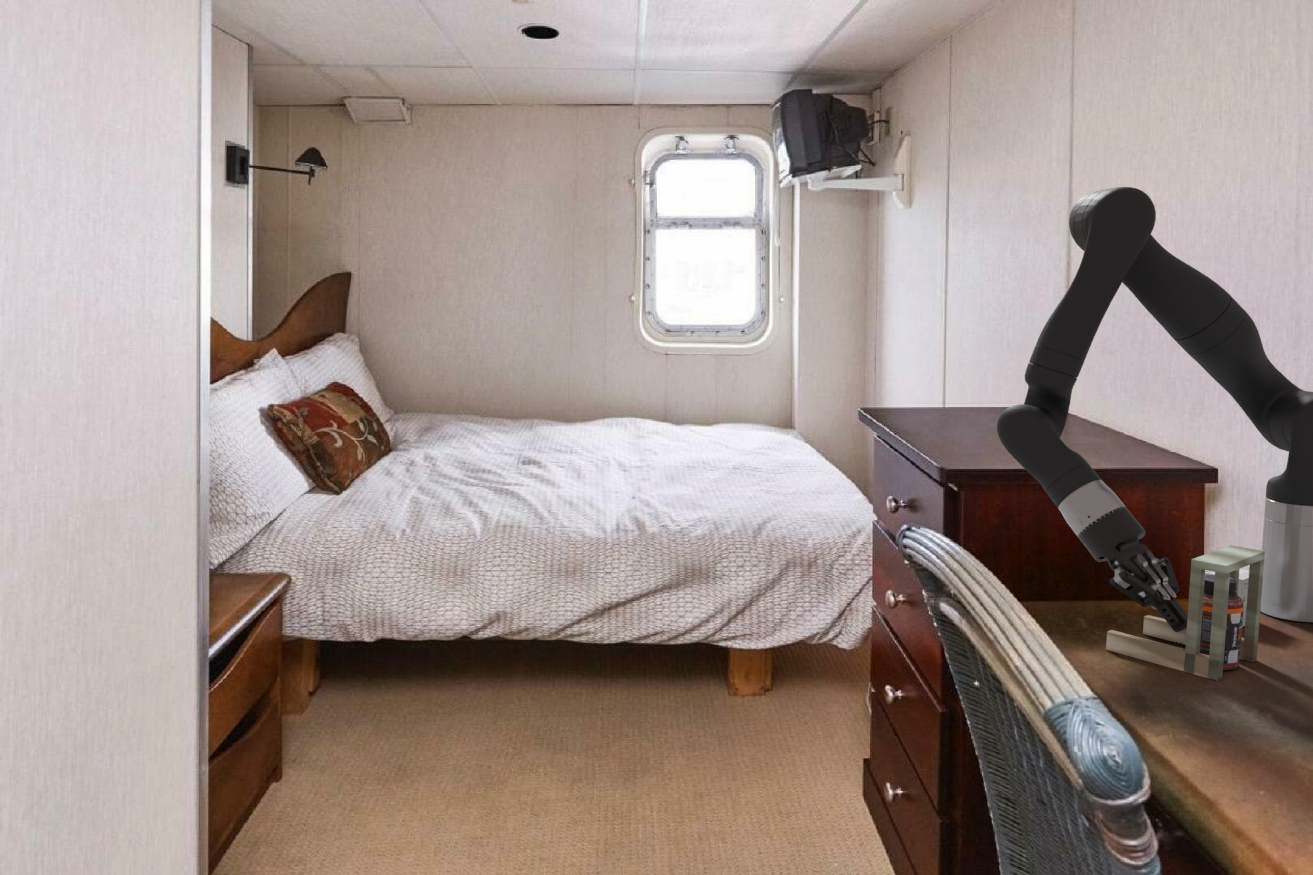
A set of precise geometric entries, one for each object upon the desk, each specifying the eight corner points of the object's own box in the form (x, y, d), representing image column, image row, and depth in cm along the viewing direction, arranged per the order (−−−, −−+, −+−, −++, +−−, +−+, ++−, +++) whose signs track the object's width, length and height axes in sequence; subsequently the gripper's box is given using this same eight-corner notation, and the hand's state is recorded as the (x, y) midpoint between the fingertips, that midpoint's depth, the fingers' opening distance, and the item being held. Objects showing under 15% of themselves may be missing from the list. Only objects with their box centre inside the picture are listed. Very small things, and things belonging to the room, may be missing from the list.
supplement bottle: (1248, 673, 118) (1255, 585, 117) (1197, 671, 119) (1204, 584, 117) (1226, 656, 124) (1232, 572, 122) (1178, 654, 125) (1183, 571, 123)
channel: (1147, 632, 133) (1153, 531, 132) (1256, 660, 122) (1265, 551, 121) (1106, 649, 127) (1111, 544, 125) (1218, 681, 116) (1226, 565, 114)
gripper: (1095, 510, 125) (1184, 624, 117) (1144, 499, 133) (1231, 604, 125) (1055, 541, 130) (1138, 652, 122) (1105, 528, 138) (1186, 632, 130)
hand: (1185, 628), depth 124 cm, fingers closed
